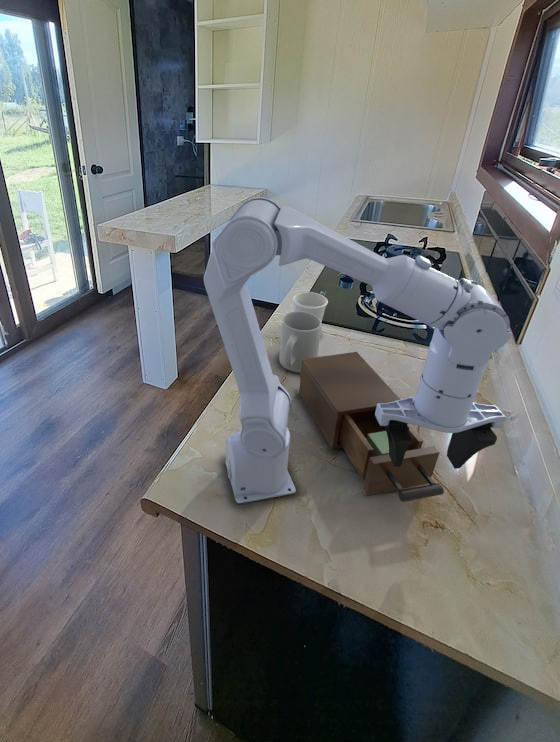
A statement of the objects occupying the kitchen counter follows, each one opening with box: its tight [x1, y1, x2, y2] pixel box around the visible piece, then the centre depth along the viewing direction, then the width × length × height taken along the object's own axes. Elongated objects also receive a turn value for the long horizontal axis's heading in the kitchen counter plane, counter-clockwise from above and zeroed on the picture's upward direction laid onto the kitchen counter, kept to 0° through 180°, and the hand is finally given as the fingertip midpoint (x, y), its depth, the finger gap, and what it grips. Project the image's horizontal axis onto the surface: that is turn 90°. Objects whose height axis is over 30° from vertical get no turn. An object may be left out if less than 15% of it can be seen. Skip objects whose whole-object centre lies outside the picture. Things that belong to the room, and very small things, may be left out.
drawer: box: [338, 410, 445, 503], centre depth 61 cm, size 18×10×7 cm, turn 10°
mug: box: [278, 311, 322, 374], centre depth 85 cm, size 12×8×11 cm
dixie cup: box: [292, 291, 329, 323], centre depth 97 cm, size 8×8×10 cm
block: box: [366, 431, 389, 457], centre depth 61 cm, size 4×4×4 cm
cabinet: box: [298, 351, 402, 450], centre depth 71 cm, size 15×12×9 cm
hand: (423, 461), depth 52 cm, fingers open, 7 cm apart
